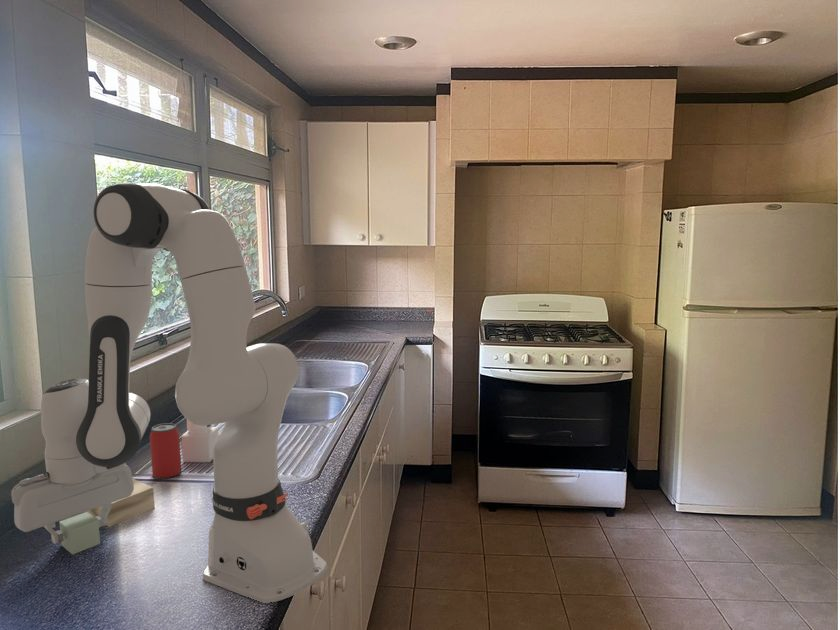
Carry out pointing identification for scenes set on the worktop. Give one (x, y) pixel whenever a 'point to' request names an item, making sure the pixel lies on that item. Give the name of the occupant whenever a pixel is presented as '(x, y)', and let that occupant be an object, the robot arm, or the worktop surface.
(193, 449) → the medicine bottle
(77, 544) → the sage block
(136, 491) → the birch block
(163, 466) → the beer can
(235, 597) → the worktop surface
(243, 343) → the robot arm
